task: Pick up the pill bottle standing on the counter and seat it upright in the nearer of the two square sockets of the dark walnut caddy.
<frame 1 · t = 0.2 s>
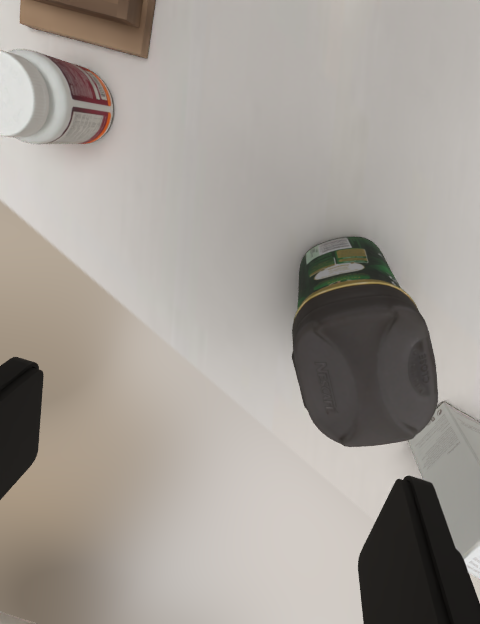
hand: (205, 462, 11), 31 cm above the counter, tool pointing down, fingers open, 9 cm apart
skincare box: (458, 437, 44), on the counter
coffee jar: (345, 285, 41), on the counter
pill bottle: (83, 107, 39), on the counter
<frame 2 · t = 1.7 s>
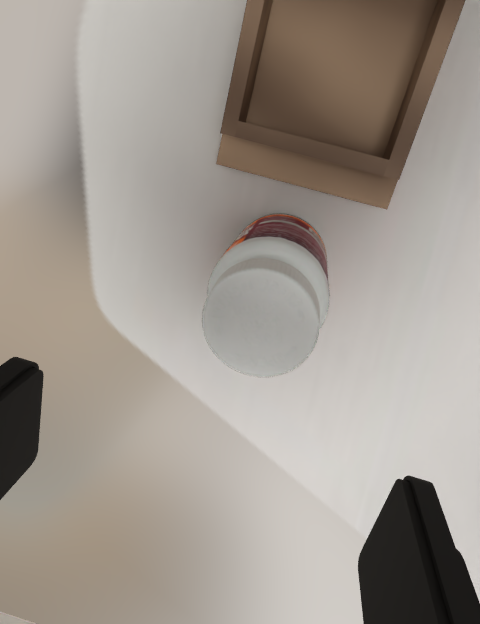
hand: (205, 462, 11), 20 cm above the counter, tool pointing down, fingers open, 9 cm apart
pill bottle: (280, 258, 29), on the counter
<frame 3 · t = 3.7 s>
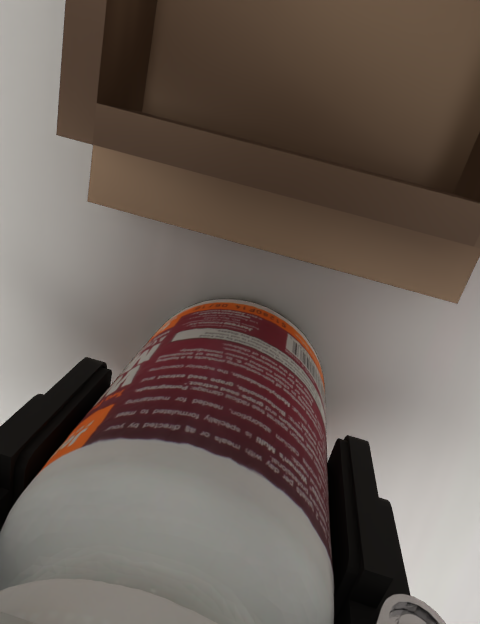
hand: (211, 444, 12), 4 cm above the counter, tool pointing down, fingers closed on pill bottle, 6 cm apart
pill bottle: (235, 375, 15), on the counter, touching gripper
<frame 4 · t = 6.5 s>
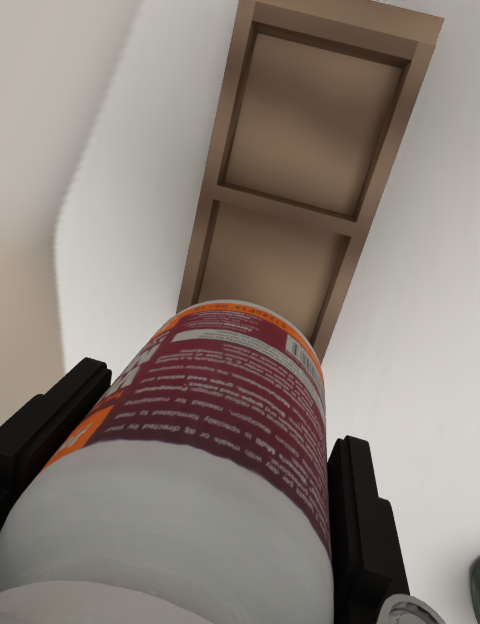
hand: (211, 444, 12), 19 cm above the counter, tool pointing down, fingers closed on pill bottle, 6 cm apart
caddy: (287, 202, 28), on the counter
pill bottle: (235, 376, 15), point 15 cm above the counter, touching gripper
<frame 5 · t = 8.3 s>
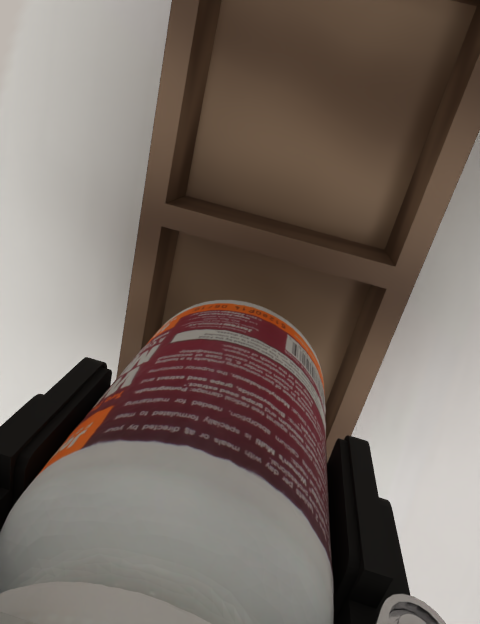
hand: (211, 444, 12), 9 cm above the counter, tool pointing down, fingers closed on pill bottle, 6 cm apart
caddy: (283, 225, 18), on the counter
pill bottle: (235, 376, 15), point 5 cm above the counter, touching gripper
when the fingers open (6 cm above the counter, at t = 9.8 s): pill bottle drops 1 cm, resting on caddy.
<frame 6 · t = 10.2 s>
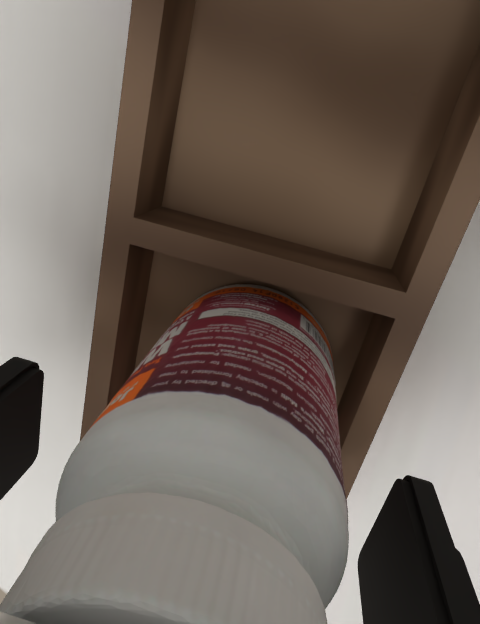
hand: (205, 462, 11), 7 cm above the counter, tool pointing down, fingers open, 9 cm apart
caddy: (275, 239, 16), on the counter
pill bottle: (250, 356, 17), point 1 cm above the counter, touching caddy
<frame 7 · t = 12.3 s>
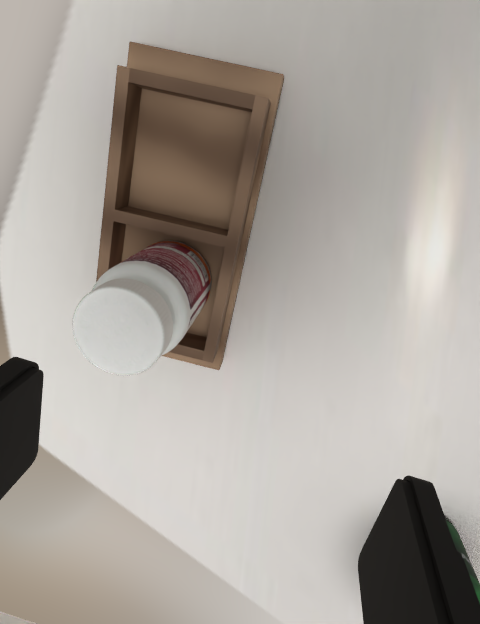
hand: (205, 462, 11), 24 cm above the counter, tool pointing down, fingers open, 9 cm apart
coffee jar: (418, 548, 41), on the counter
caddy: (184, 221, 34), on the counter
pill bottle: (175, 278, 34), point 1 cm above the counter, touching caddy
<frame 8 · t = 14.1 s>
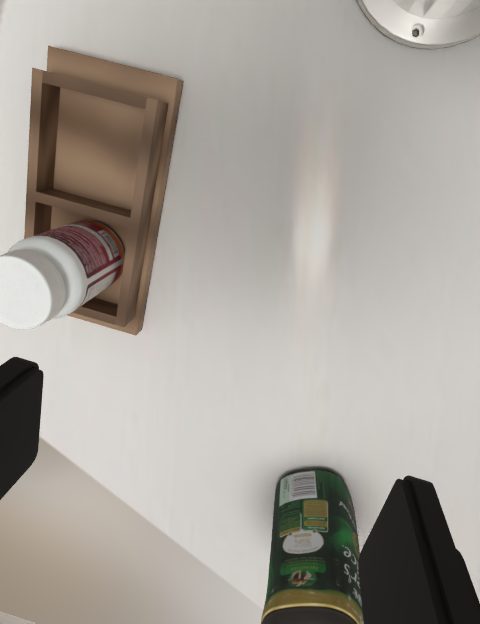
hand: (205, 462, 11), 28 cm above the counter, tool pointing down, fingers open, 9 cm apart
coffee jar: (316, 500, 47), on the counter
caddy: (104, 203, 39), on the counter
pill bottle: (95, 253, 39), point 1 cm above the counter, touching caddy
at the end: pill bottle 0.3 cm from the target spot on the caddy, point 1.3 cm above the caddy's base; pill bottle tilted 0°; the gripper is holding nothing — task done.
